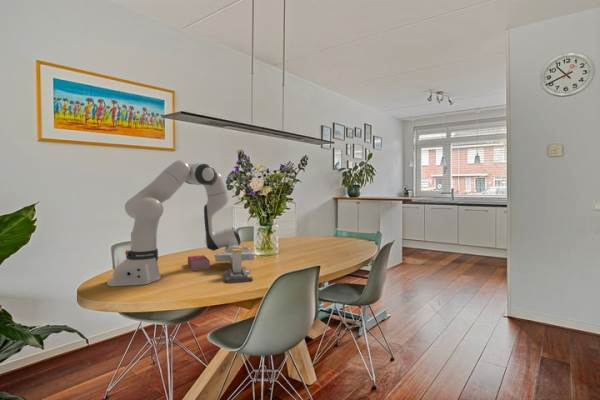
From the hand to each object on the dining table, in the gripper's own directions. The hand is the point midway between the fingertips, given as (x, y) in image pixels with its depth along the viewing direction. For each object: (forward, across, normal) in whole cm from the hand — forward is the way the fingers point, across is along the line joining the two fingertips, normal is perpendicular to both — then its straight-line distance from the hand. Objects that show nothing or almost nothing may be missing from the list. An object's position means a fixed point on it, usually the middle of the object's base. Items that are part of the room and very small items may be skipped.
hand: (236, 259), depth 178 cm
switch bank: (+8, 0, +7) cm, 11 cm away
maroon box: (-22, -19, +8) cm, 30 cm away
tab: (+4, 0, +5) cm, 6 cm away
